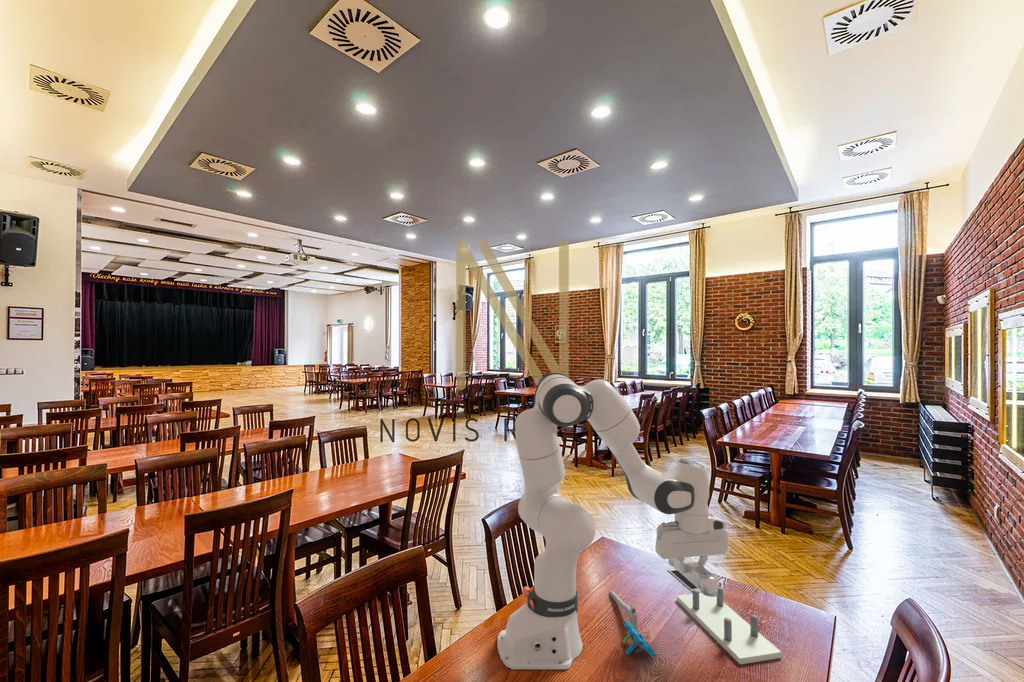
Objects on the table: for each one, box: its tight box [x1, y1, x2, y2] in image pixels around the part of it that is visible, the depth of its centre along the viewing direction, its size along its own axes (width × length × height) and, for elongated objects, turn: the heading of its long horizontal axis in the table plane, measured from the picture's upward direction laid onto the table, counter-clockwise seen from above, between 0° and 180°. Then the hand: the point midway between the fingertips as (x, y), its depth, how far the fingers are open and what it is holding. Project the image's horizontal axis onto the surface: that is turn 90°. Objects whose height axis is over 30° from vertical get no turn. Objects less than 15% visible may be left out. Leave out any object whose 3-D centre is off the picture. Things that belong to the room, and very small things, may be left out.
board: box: [676, 586, 783, 665], centre depth 123 cm, size 12×28×6 cm, turn 11°
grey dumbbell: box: [667, 557, 719, 597], centre depth 119 cm, size 4×19×4 cm, turn 11°
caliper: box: [608, 590, 638, 632], centre depth 130 cm, size 20×1×6 cm, turn 7°
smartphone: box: [667, 567, 701, 593], centre depth 147 cm, size 7×15×1 cm, turn 13°
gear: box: [621, 620, 657, 658], centre depth 112 cm, size 11×6×10 cm
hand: (691, 571), depth 119 cm, fingers closed on grey dumbbell, 3 cm apart
